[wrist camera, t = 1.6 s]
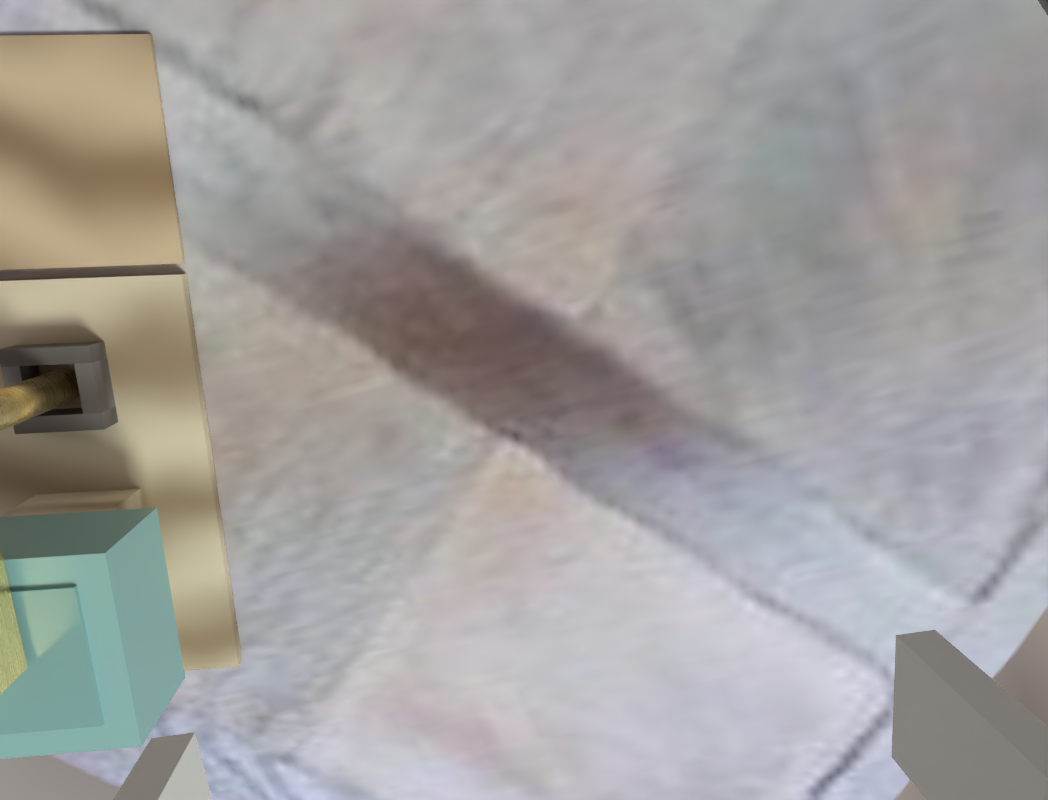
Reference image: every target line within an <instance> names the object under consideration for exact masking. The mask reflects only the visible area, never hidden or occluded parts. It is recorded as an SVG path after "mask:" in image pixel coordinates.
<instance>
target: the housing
mask: <svg viewBox="0 0 1048 800" xmlns="http://www.w3.org/2000/svg"><path fill="white" fill-rule="evenodd" d="M59 369H67V370H70V371H72V372H74V373H75V374H76V378H77V383H78V388H79V394H80V396H79V397H78V398H77V399H76V400H74V401H71V402H69V403H66V404H64V405H62V406H59V407H57V408H54V409H52V410H50V411H47V412H45V413H42V414H40V415H38V416H35V417H33V418H31V419H28V420H26V421H23V422H21V423H19V424H16V425H14V426H11V427H9V428H7V429H4V430H2V431H0V517H12V516H28V515H44V514H60V513H76V512H92V511H109V510H125V509H141V508H157V511H158V517H159V523H160V529H161V535H162V541H163V547H164V553H165V559H166V565H167V571H168V577H169V583H170V589H171V595H172V601H173V607H174V613H175V619H176V625H177V631H178V637H179V643H180V649H181V655H182V661H183V667H184V671H186V670H198V669H211V668H223V667H236V666H239V664H240V663H241V661H242V657H241V650H240V643H239V636H238V629H237V622H236V615H235V608H234V601H233V594H232V587H231V580H230V573H229V566H228V560H227V553H226V546H225V539H224V532H223V525H222V518H221V511H220V504H219V497H218V490H217V483H216V476H215V469H214V463H213V456H212V449H211V442H210V435H209V428H208V421H207V414H206V407H205V400H204V393H203V386H202V379H201V373H200V366H199V359H198V352H197V345H196V338H195V331H194V324H193V317H192V310H191V303H190V296H189V289H188V282H187V276H186V274H169V275H142V276H115V277H88V278H61V279H34V280H7V281H0V388H3V387H6V386H9V385H12V384H15V383H18V382H22V381H25V380H28V379H31V378H34V377H37V376H40V375H43V374H46V373H49V372H52V371H55V370H59Z"/></svg>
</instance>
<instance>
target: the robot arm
mask: <svg viewBox="0 0 1048 800" xmlns="http://www.w3.org/2000/svg"><path fill="white" fill-rule="evenodd" d="M1038 1H1039V2H1040V4H1041V6H1042V7H1043V9H1044V10H1045V12H1046V13H1047V15H1048V0H1038ZM892 758H893V759H894V760H895V762H896V763H897V764H898V765H899V766H900V768H901V769H902V770H903V771H904V773H905V774H906V775H907V776H908V778H909V779H910V780H911V781H912V783H913V784H914V785H915V786H916V788H917V789H918V790H919V791H920V793H921V794H922V795H923V796H924V797H925V799H926V800H1048V726H1046V725H1045V724H1044V723H1043V722H1042V721H1041V720H1039V719H1038V718H1037V717H1036V716H1035V715H1034V714H1032V713H1031V712H1030V711H1029V710H1028V709H1026V708H1025V707H1024V706H1023V705H1022V704H1021V703H1020V702H1018V701H1017V700H1016V699H1015V698H1013V697H1012V696H1011V695H1010V694H1009V693H1008V692H1006V690H1004V689H1003V688H1002V687H1001V686H1000V685H998V684H997V683H996V682H995V681H994V680H993V679H992V678H990V677H989V676H988V675H987V674H986V673H985V672H983V671H982V670H981V669H980V668H979V667H977V666H976V665H975V664H974V663H973V662H972V661H970V660H969V659H968V658H967V657H966V656H965V655H963V654H962V653H961V652H960V651H959V650H958V649H956V648H955V647H954V646H953V645H952V644H951V643H949V642H948V641H947V640H946V639H945V638H944V637H942V636H941V635H940V634H939V633H938V632H937V631H935V630H931V631H924V632H916V633H909V634H902V635H896V651H895V679H894V707H893V735H892ZM113 800H212V798H211V794H210V790H209V786H208V782H207V778H206V774H205V770H204V767H203V763H202V759H201V755H200V751H199V747H198V743H197V739H196V735H195V732H194V733H187V734H180V735H173V736H166V737H158V738H151V740H150V742H149V743H148V745H147V746H146V748H145V750H144V751H143V753H142V754H141V756H140V758H139V759H138V761H137V762H136V764H135V766H134V767H133V769H132V770H131V772H130V774H129V775H128V777H127V778H126V780H125V782H124V783H123V785H122V786H121V788H120V790H119V791H118V793H117V795H116V796H115V798H114V799H113Z"/></svg>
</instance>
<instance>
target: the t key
mask: <svg viewBox="0 0 1048 800" xmlns="http://www.w3.org/2000/svg"><path fill="white" fill-rule="evenodd" d="M79 396H80V394H79V388H78V383H77V378H76V374H75V373H74V372H72V371H70V370H67V369H59V370H55V371H52V372H49V373H46V374H43V375H40V376H37V377H34V378H31V379H28V380H25V381H22V382H18V383H15V384H12V385H9V386H6V387H3V388H0V431H2V430H4V429H7V428H9V427H11V426H14V425H16V424H19V423H21V422H23V421H26V420H28V419H31V418H33V417H35V416H38V415H40V414H42V413H45V412H47V411H50V410H52V409H54V408H57V407H59V406H62V405H64V404H66V403H69V402H71V401H74V400H76V399H77V398H78V397H79ZM27 668H28V667H27V662H26V658H25V653H24V649H23V645H22V640H21V636H20V631H19V627H18V622H17V618H16V614H15V609H14V605H13V600H12V596H11V591H10V587H9V583H8V578H7V574H6V569H5V565H4V561H3V556H2V552H1V547H0V695H1V694H2V693H3V692H4V691H5V690H6V689H7V688H8V687H9V686H10V685H11V684H12V683H13V682H14V681H15V680H16V679H17V678H18V677H19V676H20V675H21V674H22V673H23V672H24V671H25V670H26V669H27Z"/></svg>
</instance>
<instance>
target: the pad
mask: <svg viewBox="0 0 1048 800" xmlns="http://www.w3.org/2000/svg"><path fill="white" fill-rule="evenodd" d="M182 263H185V262H184V255H183V248H182V241H181V234H180V227H179V220H178V213H177V206H176V199H175V192H174V185H173V179H172V172H171V165H170V158H169V151H168V144H167V137H166V130H165V123H164V116H163V109H162V102H161V95H160V88H159V82H158V75H157V68H156V61H155V54H154V47H153V40H152V35H151V34H98V35H7V36H0V270H14V269H42V268H70V267H98V266H126V265H154V264H182Z"/></svg>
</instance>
